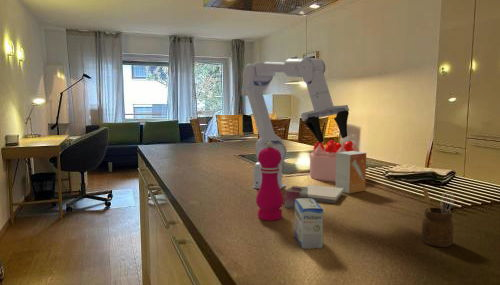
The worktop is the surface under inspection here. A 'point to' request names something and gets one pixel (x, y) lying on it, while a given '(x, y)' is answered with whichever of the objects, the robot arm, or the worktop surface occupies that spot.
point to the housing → (295, 195)
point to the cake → (327, 159)
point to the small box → (351, 171)
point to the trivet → (324, 193)
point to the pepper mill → (269, 185)
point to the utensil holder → (437, 224)
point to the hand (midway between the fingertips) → (333, 139)
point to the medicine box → (308, 223)
